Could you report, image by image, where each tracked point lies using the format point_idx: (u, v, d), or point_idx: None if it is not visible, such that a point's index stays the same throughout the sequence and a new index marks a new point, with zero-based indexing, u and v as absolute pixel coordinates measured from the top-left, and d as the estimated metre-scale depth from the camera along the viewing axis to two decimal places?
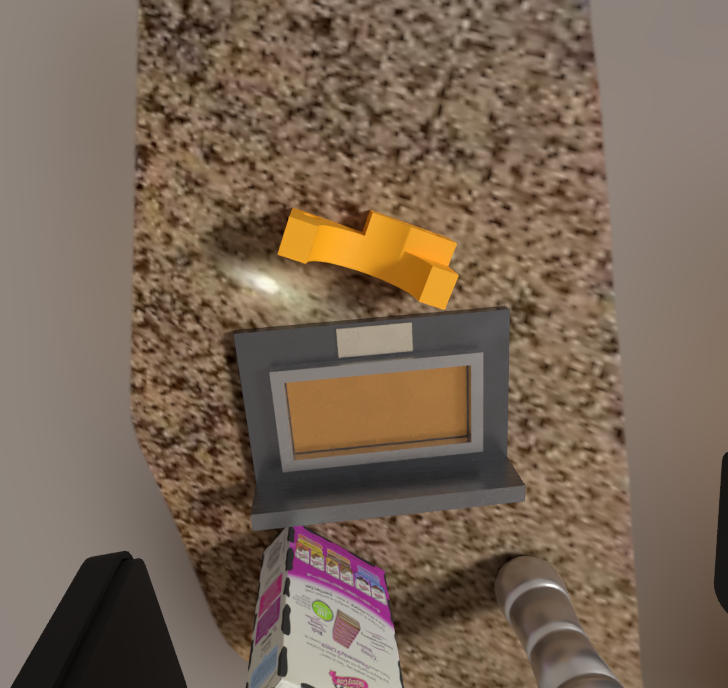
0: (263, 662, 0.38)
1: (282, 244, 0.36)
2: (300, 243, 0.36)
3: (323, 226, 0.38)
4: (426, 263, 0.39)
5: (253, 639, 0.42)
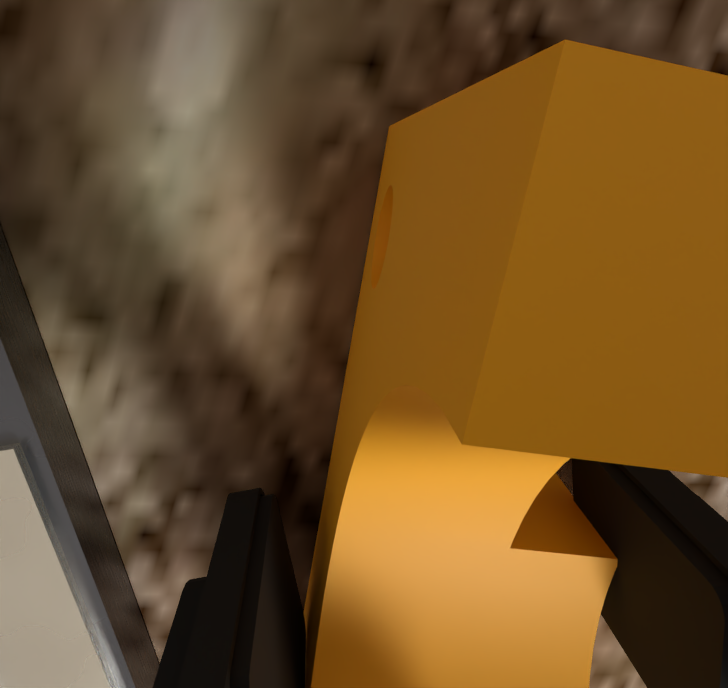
0: None
1: (715, 100, 0.02)
2: (713, 343, 0.03)
3: None
4: None
5: None
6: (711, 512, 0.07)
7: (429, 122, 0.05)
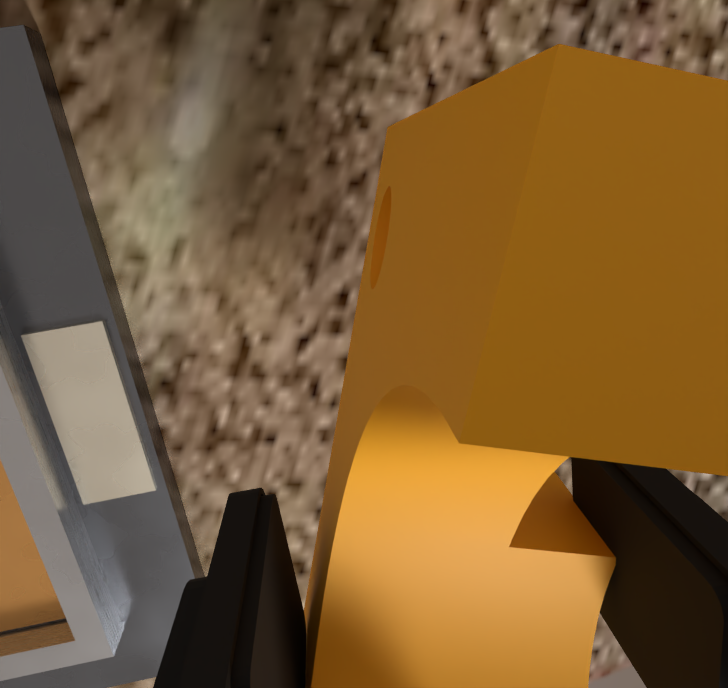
0: None
1: (706, 103, 0.02)
2: (706, 343, 0.03)
3: None
4: None
5: None
6: (710, 512, 0.07)
7: (427, 124, 0.05)
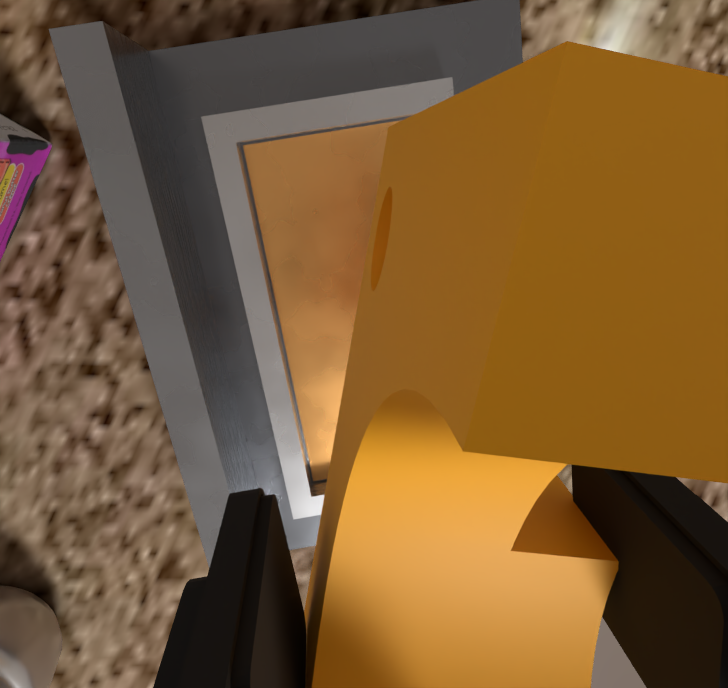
0: None
1: (718, 103, 0.02)
2: (716, 348, 0.03)
3: None
4: None
5: None
6: (710, 512, 0.07)
7: (428, 124, 0.05)
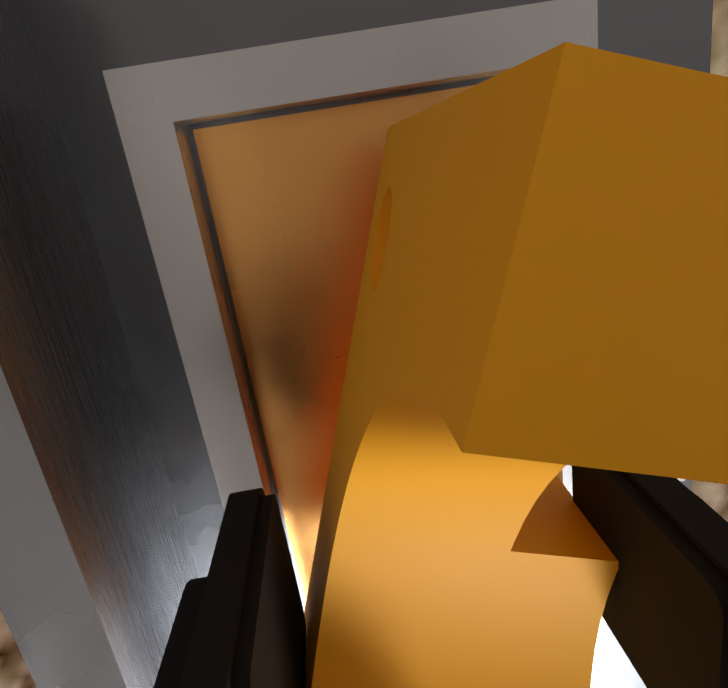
0: None
1: (717, 104, 0.02)
2: (716, 349, 0.03)
3: None
4: None
5: None
6: (710, 512, 0.07)
7: (428, 124, 0.05)
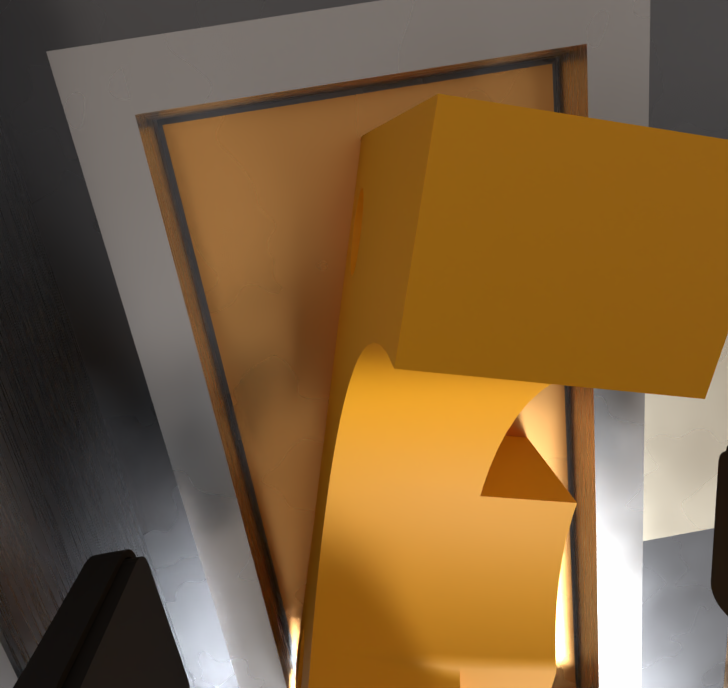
0: None
1: (541, 127, 0.04)
2: (562, 290, 0.04)
3: None
4: None
5: None
6: None
7: (383, 137, 0.06)
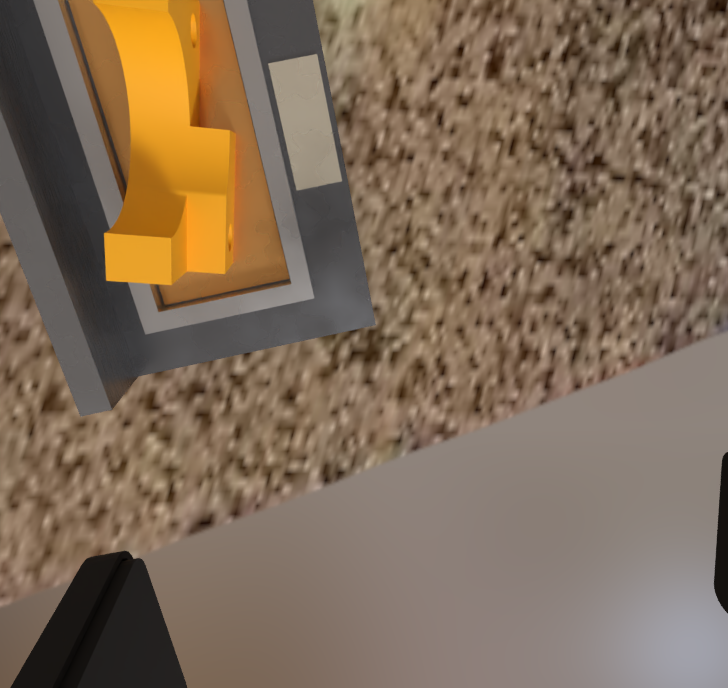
0: None
1: None
2: None
3: (176, 36, 0.22)
4: (174, 230, 0.23)
5: None
6: None
7: None
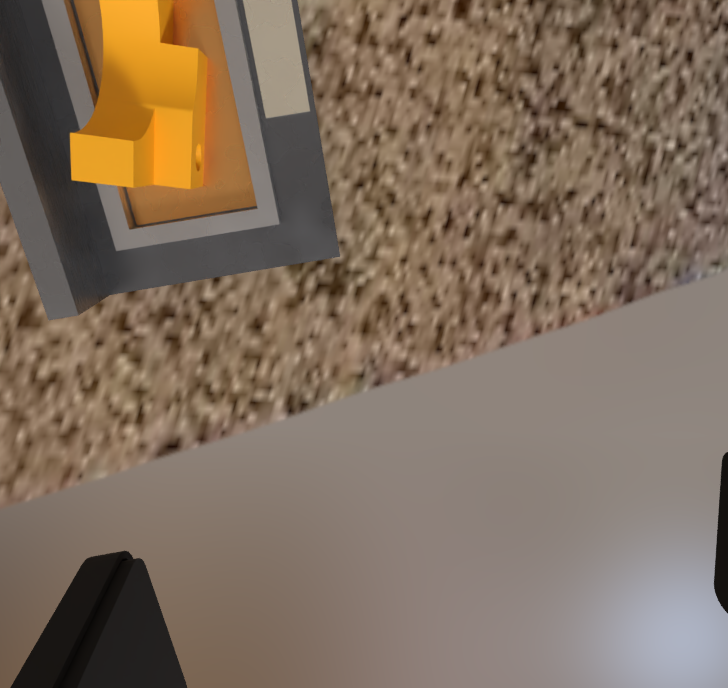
0: None
1: None
2: None
3: None
4: (139, 137, 0.25)
5: None
6: None
7: None
